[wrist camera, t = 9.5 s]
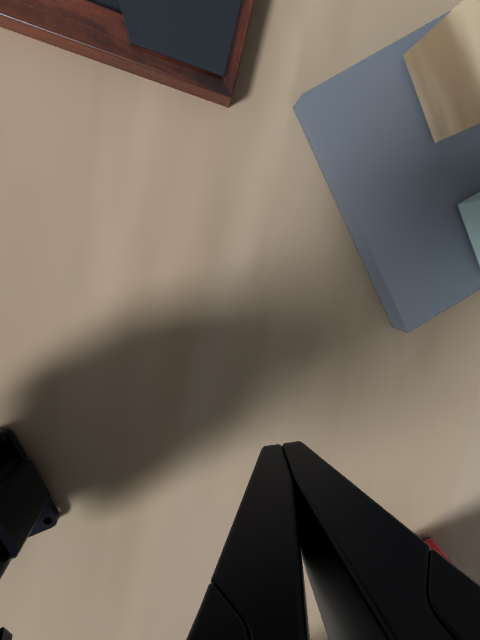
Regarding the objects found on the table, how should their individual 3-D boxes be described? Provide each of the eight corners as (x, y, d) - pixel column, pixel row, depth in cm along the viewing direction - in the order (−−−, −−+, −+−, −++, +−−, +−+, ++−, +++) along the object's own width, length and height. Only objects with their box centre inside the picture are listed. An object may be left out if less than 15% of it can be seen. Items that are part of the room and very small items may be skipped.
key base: (392, 327, 22) (407, 332, 20) (292, 107, 18) (302, 94, 17) (530, 244, 22) (554, 243, 21) (457, 14, 19) (480, -7, 17)
